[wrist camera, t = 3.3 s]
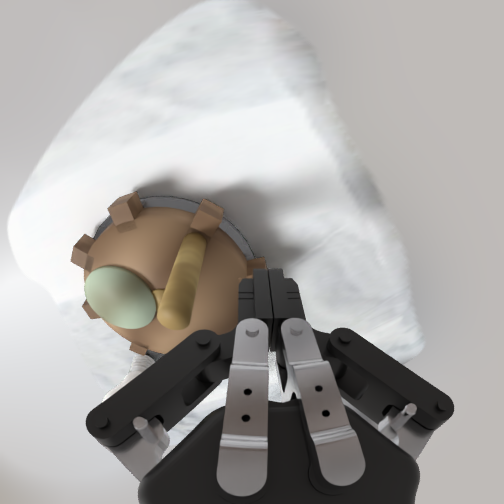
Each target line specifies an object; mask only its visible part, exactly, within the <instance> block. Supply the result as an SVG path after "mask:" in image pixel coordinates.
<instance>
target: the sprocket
mask: <svg viewBox="0 0 504 504" xmlns="http://www.w3.org/2000/svg"><path fill="white" fill-rule="evenodd" d="M108 211H109V213H110V216H111V218H112V220H113V222H112V223H111V224H110V225H109V226H108V227H107V228H106V229H105V230H104V231H103V233H102V234H101V235H100V236H99V237H98V239H97V240H95V239H93V238H91V237H89V236H87V235H86V234H84V235H83V236H82V238H81V239H80V240H79V241H78V242H77V243H76V244H75V245H74V247H73V252H72V257H71V262H72V263H74V264H76V265H78V266H80V267H81V268H83V269H84V281H85V286H84V291H85V296H86V300H85V302H84V304H83V306H82V307H83V309H84V310H85V311H86V313H87V314H88V316H89V317H90V319H96V318H102V319H103V320H104V321H105V322H106V323H107V325H108V326H110V327H111V328H112V329H113V330H114V331H115V332H117V333H118V334H119V335H121V336H122V337H124V338H125V339H127V340H128V341H130V342H132V343H131V346H130V349H129V350H131V351H133V352H136V353H138V354H140V355H143V356H144V355H145V353H146V351H147V350H151V351H154V352H158V353H163V354H166V353H168V352H169V351H170V350H172V349H173V348H174V347H175V346H177V345H178V344H179V343H180V342H182V341H183V340H184V339H185V338H187V337H188V336H189V335H191V334H192V333H193V332H195V331H198V330H203V329H206V330H211V331H213V332H215V333H216V334H217V335H221V334H225V333H228V332H230V331H232V330H233V329H234V328H235V327H236V325H237V323H238V288H239V283H240V282H241V280H242V279H243V278H252V277H253V269H267V266H266V262H265V258H264V257H261V258H256V259H251V260H246V258H245V256H244V254H243V252H242V251H241V249H240V248H239V246H238V245H237V244H236V243H235V241H234V240H233V239H232V238H231V237H230V236H229V235H228V234H227V233H226V232H225V231H223V230H222V229H221V228H219V225H220V223H221V222H222V217H223V211H224V209H223V208H221V207H219V206H217V205H216V204H214V203H212V202H210V201H208V200H206V199H204V198H203V200H202V202H201V204H200V205H199V207H198V209H197V211H196V213H195V214H194V213H191V212H188V211H185V210H182V209H176V208H170V207H147V208H143V206H142V203H141V201H140V198H139V196H138V193H137V191H136V192H133V193H130V194H128V195H125V196H122V197H119V198H118V199H117V200H116V201H115V202H114V203H113V204H112V205H111V206H110V207H109V208H108ZM267 271H268V270H267Z"/></svg>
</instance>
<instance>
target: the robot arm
mask: <svg viewBox="0 0 504 504" xmlns="http://www.w3.org/2000/svg"><path fill="white" fill-rule="evenodd" d="M269 347H270V352H272V351H276V363H275V366H276V371H277V376H278V381H279V386H280V391H281V397H282V403H280V402H274V401H268V383H269V366H268V352H269ZM227 378H229V381H228V389H227V397H226V406H223V407H221V408H218V409H216V410H214V411H213V412H211V413H210V414H209V415H207V416H206V417H205V418H204V419H203V420H202V421H201V422H200V423H199V424H198V425H197V426H196V427H195V428H194V429H193V430H192V431H191V432H190V433H189V434H188V435H187V436H186V437H185V438H184V439H183V440H182V441H181V442H180V443H179V444H178V445H177V446H176V447H175V448H174V449H173V450H172V451H171V452H170V453H169V454H168V455H166V456H165V457H164V458H163V459H162V455H163V453H164V451H165V450H166V449H167V448H168V446H169V443H170V438H169V435H168V433H167V432H168V431H169V430H170V429H171V428H172V427H174V426H175V425H176V424H177V423H178V422H179V421H180V420H181V419H183V418H184V417H185V416H186V415H187V414H188V413H189V412H190V411H191V410H193V409H194V408H195V407H196V406H197V405H198V404H199V403H200V402H201V401H202V400H203V399H204V398H206V397H207V396H208V395H209V394H210V393H211V392H212V391H213V390H214V389H215V388H216V387H217V386H218V385H219V384H220V383H221V382H222V380H224V379H227ZM453 412H454V404H453V402H452V400H451V398H450V397H449V396H448V395H446V394H445V393H443V392H442V391H440V390H439V389H437V388H436V387H434V386H433V385H431V384H430V383H428V382H427V381H425V380H424V379H423V378H421V377H420V376H418V375H417V374H415V373H414V372H412V371H411V370H409V369H408V368H406V367H405V366H403V365H402V364H401V363H399V362H398V361H396V360H395V359H393V358H392V357H390V356H389V355H387V354H386V353H384V352H383V351H382V350H380V349H379V348H377V347H376V346H374V345H373V344H371V343H370V342H368V341H367V340H366V339H364V338H363V337H361V336H360V335H358V334H357V333H355V332H354V331H352V330H350V329H348V328H337V329H335V330H333V331H332V332H331V334H329V333H324V332H320V331H317V330H315V329H313V328H312V327H311V325H310V324H309V323H308V322H307V321H306V318H305V314H304V310H303V305H302V301H301V297H300V293H299V289H298V285H297V284H296V282H295V281H294V280H293V279H292V278H284V275H283V270H282V269H268V271H267V269H253V277H252V278H243V279H242V280H241V282H240V283H239V288H238V323H237V325H236V327H235V328H234V329H233V330H232V331H230V332H228V333H225V334H221V335H217V334H216V333H215V332H213V331H211V330H206V329H203V330H198V331H195V332H193V333H192V334H191V335H189V336H188V337H187V338H185V339H184V340H183V341H182V342H180V343H179V344H178V345H177V346H175V347H174V348H173V349H172V350H170V351H169V352H168V353H166V354H165V355H164V356H163V357H161V358H160V359H159V360H157V361H156V362H155V363H154V364H152V365H151V366H150V367H148V368H147V369H146V370H144V371H143V372H142V373H141V374H139V375H138V376H137V377H135V378H134V379H133V380H131V381H130V382H129V383H127V384H126V385H125V386H124V387H122V388H121V389H120V390H118V391H117V392H116V393H114V394H113V395H112V396H110V397H109V398H108V399H106V400H105V401H104V402H102V403H101V404H100V405H98V406H97V407H96V408H94V409H93V410H92V411H90V413H89V414H88V416H87V418H86V427H87V430H88V431H89V433H90V434H91V435H92V436H93V437H95V438H96V439H97V441H98V442H99V443H100V444H101V445H103V446H104V447H105V448H106V449H108V450H109V451H110V452H112V453H113V454H114V455H115V456H116V457H117V458H118V459H119V461H121V463H122V464H123V465H124V466H125V467H126V468H127V469H128V470H129V471H130V472H131V473H132V474H133V475H134V476H135V477H136V478H137V479H138V480H139V481H140V485H139V489H138V500H139V503H140V504H415V496H416V492H417V489H418V485H419V480H420V471H419V467H418V464H417V463H416V459H417V458H418V456H419V455H420V453H421V452H422V450H423V449H424V447H425V445H426V444H427V442H428V441H429V439H430V437H431V435H432V434H433V432H434V431H435V430H436V429H437V428H439V427H440V426H441V425H442V424H443V423H445V422H446V421H447V420H448V419H449V418H450V417H451V416H452V415H453ZM161 459H162V460H161Z"/></svg>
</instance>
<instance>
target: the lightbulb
mask: <svg viewBox="0 0 504 504" xmlns="http://www.w3.org/2000/svg"><path fill="white" fill-rule="evenodd" d="M154 363H155V361H154V360H153V359H152V358H151V357H149V356H147V355H144V356H143V355H140V354H137V355H135V356H134V358H133V361H132V364H131V368H130V371H129V373H128V374H127V375H126V376H125V377H124V379H123V381H122V382H121V383H120V384H119V385H117V386H116V387H114V388H113V389H111V390H110V391H109V392H108V393H107V394H106V395H105V397H104V398H103V401H102V402H104V401H105V400H106V399H108V398H109V397H110V396H112V395H113V394H114V393H116V392H117V391H118V390H120V389H121V388H122V387H124V386H125V385H126V384H127V383H129V382H130V381H131V380H133V379H134V378H135V377H137V376H138V375H139V374H141V373H142V372H143V371H144V370H146V369H147V368H148V367H150V366H151V365H152V364H154Z"/></svg>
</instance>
